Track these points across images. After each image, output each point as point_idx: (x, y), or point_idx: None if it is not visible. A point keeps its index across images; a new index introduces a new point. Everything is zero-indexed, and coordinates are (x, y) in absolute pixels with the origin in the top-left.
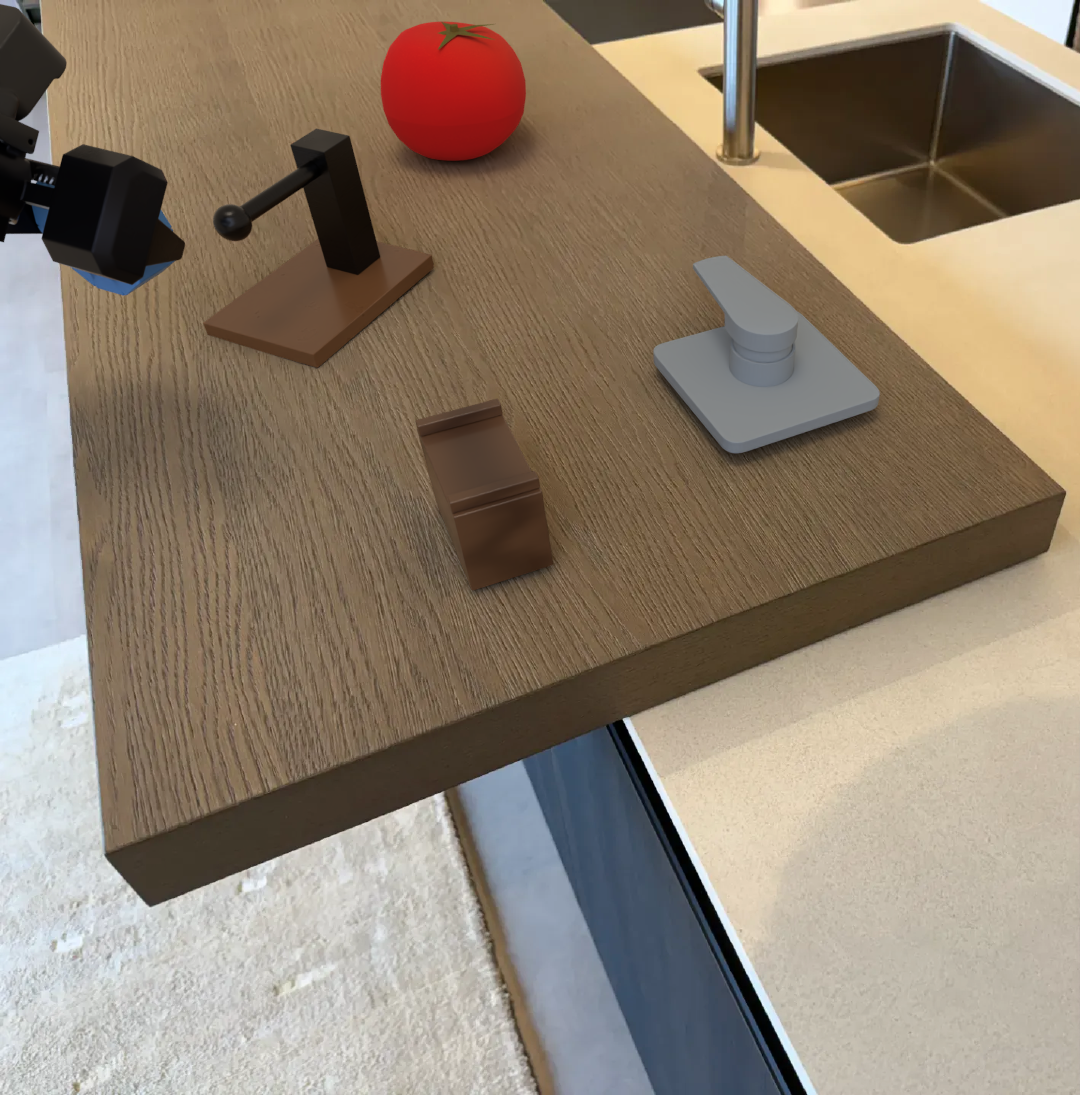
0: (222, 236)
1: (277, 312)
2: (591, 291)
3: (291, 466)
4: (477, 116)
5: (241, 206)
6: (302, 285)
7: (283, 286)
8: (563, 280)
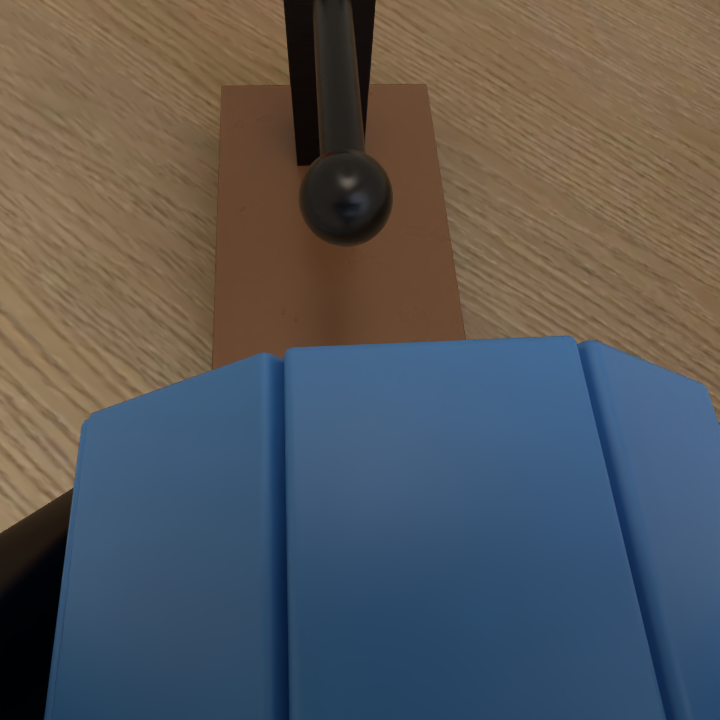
0: (343, 246)
1: (317, 296)
2: (632, 69)
3: None
4: None
5: (342, 144)
6: (297, 219)
7: (268, 234)
8: (581, 63)
